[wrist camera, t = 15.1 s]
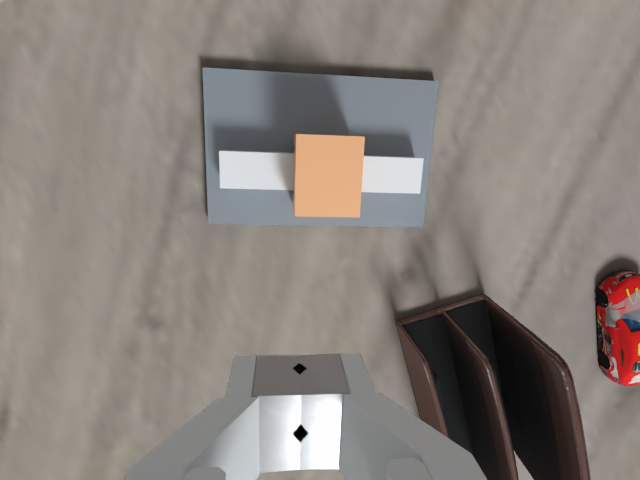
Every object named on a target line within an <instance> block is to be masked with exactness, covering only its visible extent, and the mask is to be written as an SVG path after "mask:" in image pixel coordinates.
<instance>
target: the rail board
mask: <svg viewBox="0 0 640 480" xmlns="http://www.w3.org/2000/svg"><path fill="white" fill-rule="evenodd" d="M202 70H203V97H204V124H205V152H206V179H207V207H208V224H258V225H315V226H373V227H423V222H424V213H425V204H426V195H427V186H428V177H429V168H430V159H431V150H432V141H433V132H434V123H435V114H436V105H437V96H438V87H439V81H427V80H410V79H393V78H376V77H359V76H341V75H324V74H307V73H290V72H273V71H256V70H239V69H222V68H205V67H202ZM295 134H311V135H337V136H363V137H365V144H364V160H363V175H362V191H361V207H360V217H298V216H294V209H293V195H294V135H295Z"/></svg>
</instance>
